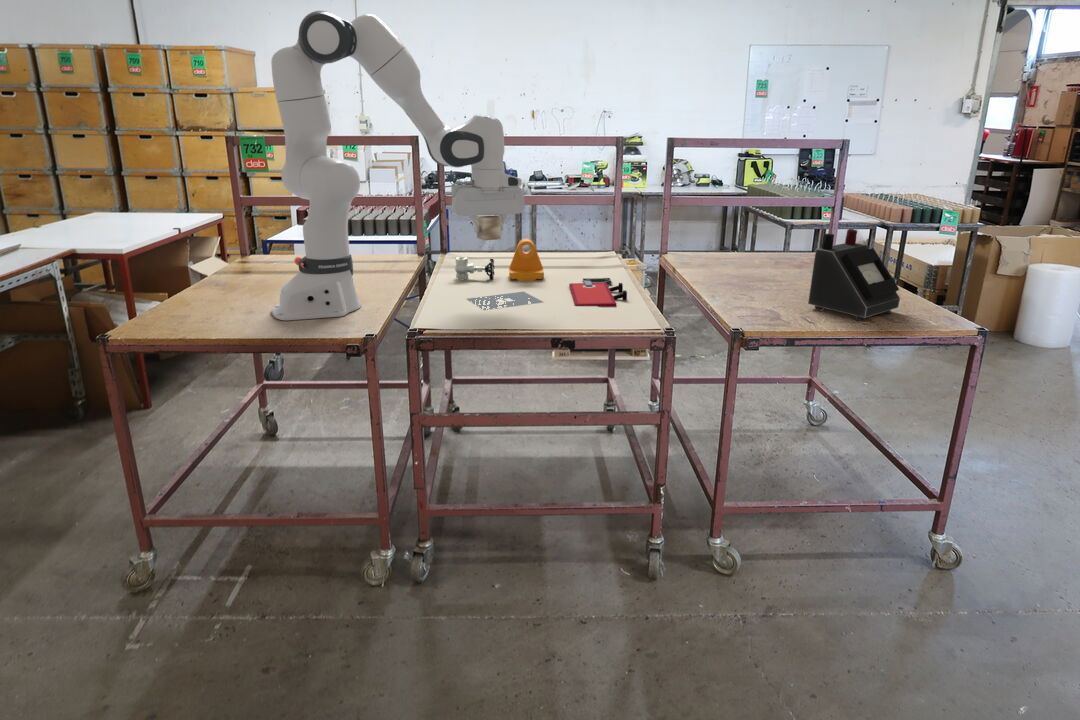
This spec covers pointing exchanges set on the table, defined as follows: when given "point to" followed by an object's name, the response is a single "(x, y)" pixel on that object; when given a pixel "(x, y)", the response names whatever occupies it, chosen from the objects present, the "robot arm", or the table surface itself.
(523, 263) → the bracket
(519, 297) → the grey mat
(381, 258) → the table surface
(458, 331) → the table surface
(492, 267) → the valve
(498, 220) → the maple block
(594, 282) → the red board with handle
